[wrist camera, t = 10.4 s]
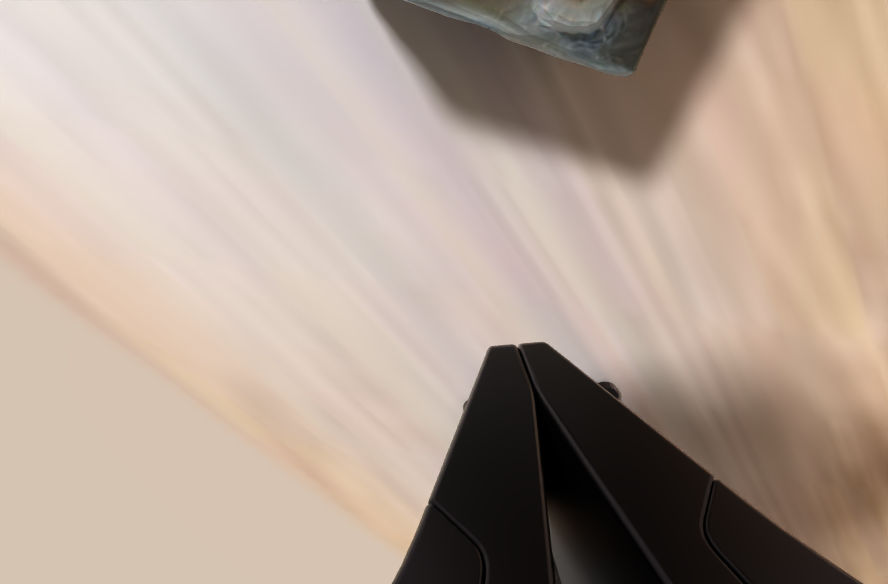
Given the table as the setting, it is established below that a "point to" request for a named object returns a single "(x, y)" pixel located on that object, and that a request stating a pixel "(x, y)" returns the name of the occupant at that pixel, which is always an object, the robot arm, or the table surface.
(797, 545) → the robot arm
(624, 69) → the grey-green printed box
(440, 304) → the table surface
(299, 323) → the table surface
